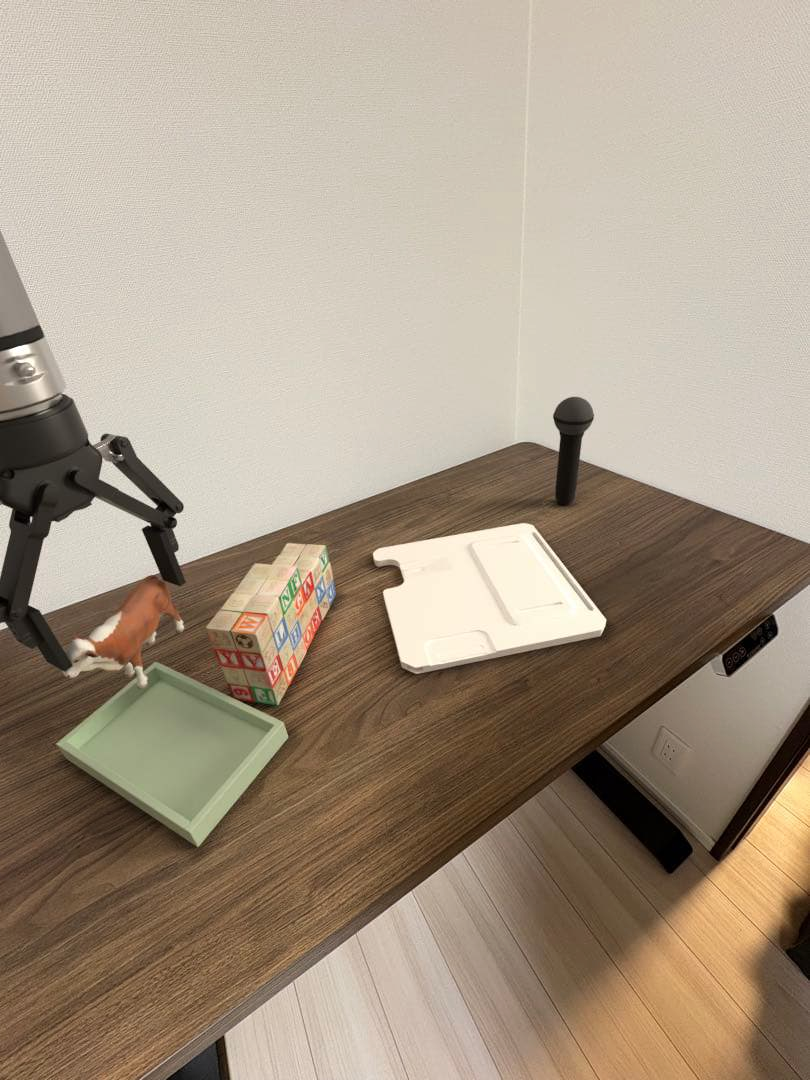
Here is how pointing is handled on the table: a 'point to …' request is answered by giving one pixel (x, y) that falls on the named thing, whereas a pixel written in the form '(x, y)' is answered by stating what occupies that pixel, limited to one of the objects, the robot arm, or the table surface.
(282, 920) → the table surface
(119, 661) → the bull figurine
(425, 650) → the tray
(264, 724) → the tray
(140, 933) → the table surface
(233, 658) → the stack of blocks
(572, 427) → the microphone
